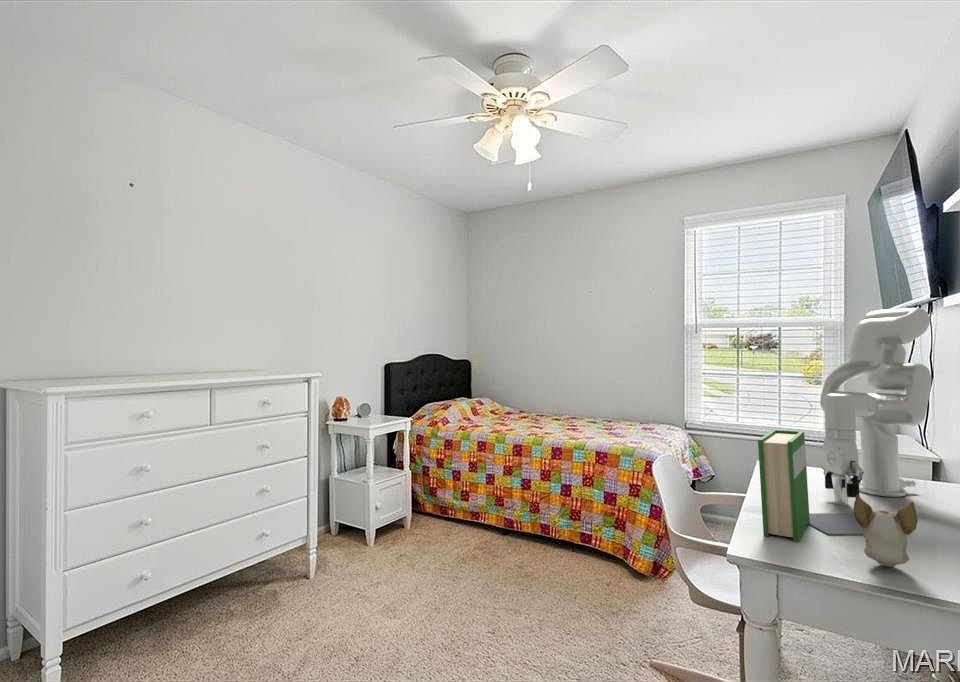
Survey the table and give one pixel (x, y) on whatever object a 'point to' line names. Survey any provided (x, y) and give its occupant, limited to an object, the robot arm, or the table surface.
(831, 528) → the mouse pad
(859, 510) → the ceramic sculpture
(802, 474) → the hardback book
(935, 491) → the table surface
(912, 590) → the table surface
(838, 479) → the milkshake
